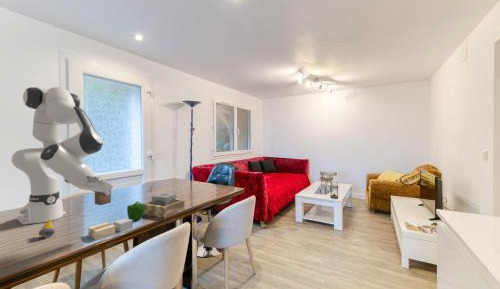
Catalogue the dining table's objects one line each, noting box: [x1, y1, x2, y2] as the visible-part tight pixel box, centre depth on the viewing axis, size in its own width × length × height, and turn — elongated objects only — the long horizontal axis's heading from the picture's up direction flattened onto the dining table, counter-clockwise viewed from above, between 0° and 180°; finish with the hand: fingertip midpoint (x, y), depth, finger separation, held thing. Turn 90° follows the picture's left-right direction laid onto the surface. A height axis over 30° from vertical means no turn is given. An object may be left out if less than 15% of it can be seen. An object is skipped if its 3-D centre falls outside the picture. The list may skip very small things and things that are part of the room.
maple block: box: [87, 222, 116, 241], centre depth 103 cm, size 8×8×4 cm
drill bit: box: [38, 219, 56, 240], centre depth 101 cm, size 5×5×10 cm
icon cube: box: [151, 191, 177, 206], centre depth 138 cm, size 10×10×10 cm
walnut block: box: [94, 190, 112, 206], centre depth 103 cm, size 4×4×8 cm
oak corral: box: [141, 198, 186, 219], centre depth 136 cm, size 17×17×6 cm
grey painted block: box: [112, 217, 134, 233], centre depth 111 cm, size 6×6×4 cm
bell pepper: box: [126, 201, 144, 221], centre depth 123 cm, size 8×8×10 cm
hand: (104, 193), depth 104 cm, fingers closed on walnut block, 4 cm apart
